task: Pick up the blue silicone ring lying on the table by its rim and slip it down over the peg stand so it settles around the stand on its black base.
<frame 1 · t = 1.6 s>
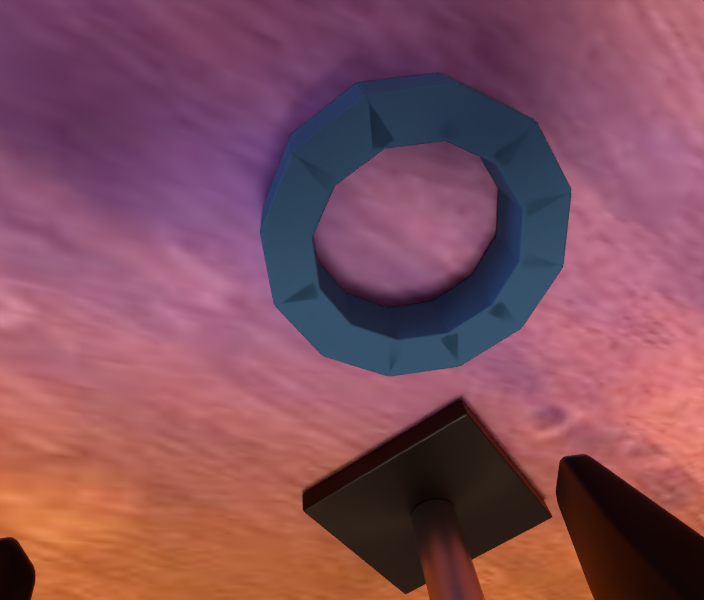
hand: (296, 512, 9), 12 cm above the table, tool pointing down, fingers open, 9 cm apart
blue ring: (405, 223, 20), on the table
peg stand: (428, 497, 27), on the table
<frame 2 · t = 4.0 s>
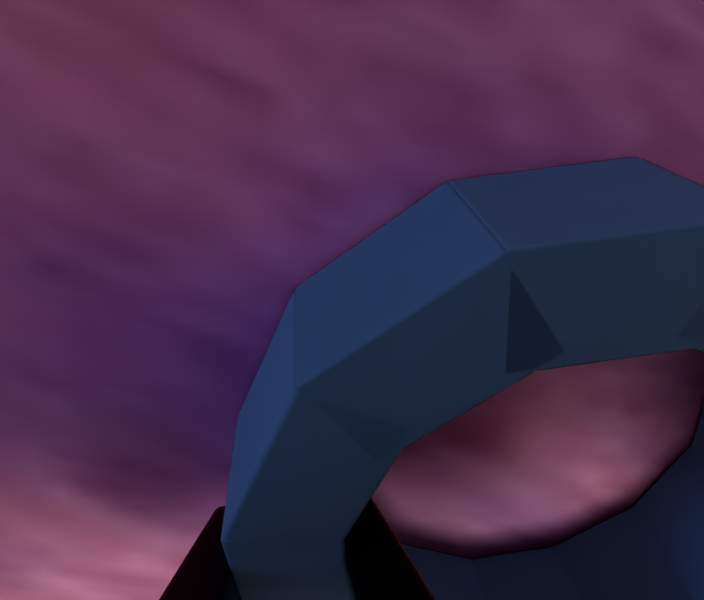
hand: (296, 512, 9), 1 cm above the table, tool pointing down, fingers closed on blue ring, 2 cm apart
blue ring: (521, 434, 10), on the table, touching gripper
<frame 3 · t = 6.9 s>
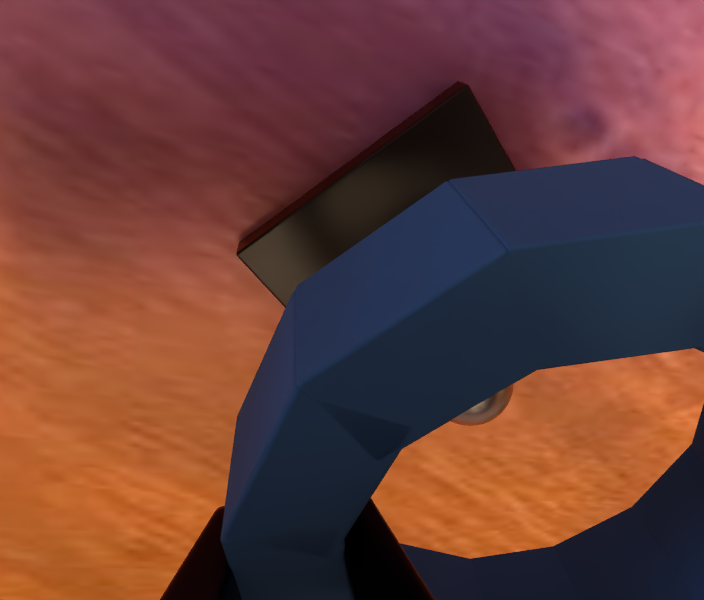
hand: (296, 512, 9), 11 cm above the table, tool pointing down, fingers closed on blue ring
blue ring: (521, 434, 10), point 10 cm above the table, touching gripper
peg stand: (413, 263, 20), on the table
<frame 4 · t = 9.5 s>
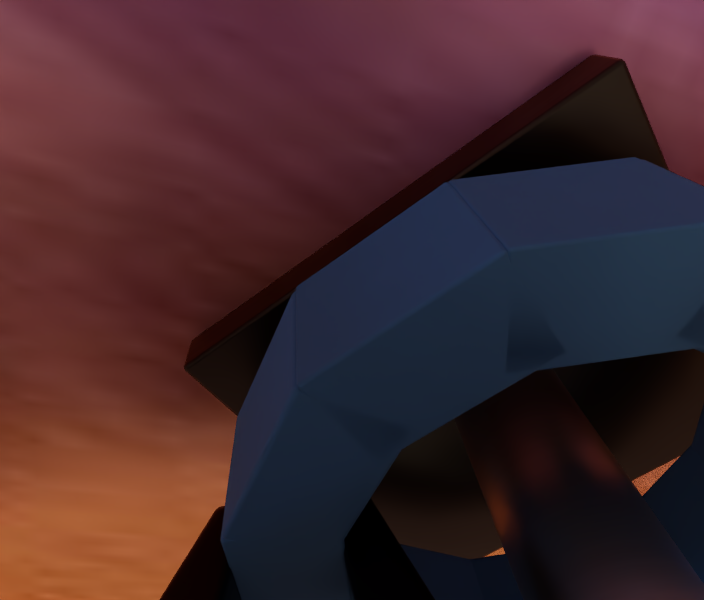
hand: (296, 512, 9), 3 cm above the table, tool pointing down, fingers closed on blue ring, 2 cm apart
blue ring: (521, 434, 10), point 2 cm above the table, touching gripper
peg stand: (486, 364, 12), on the table
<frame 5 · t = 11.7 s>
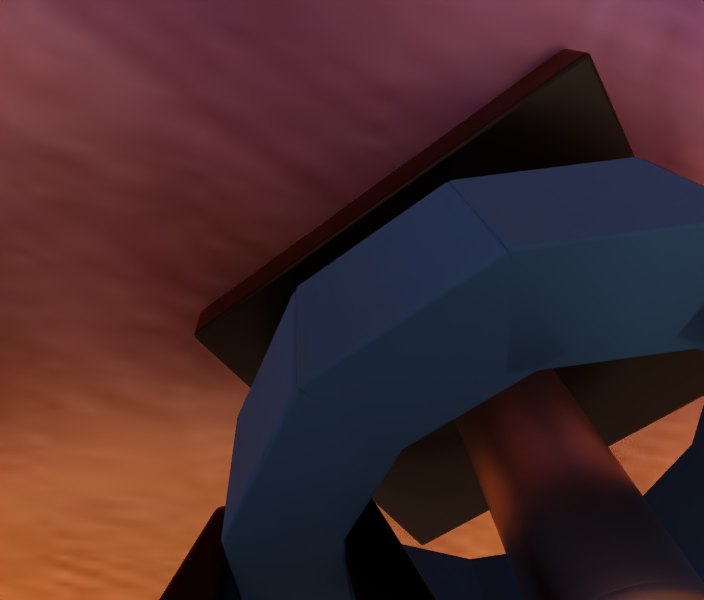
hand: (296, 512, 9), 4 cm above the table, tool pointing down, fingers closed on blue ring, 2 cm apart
blue ring: (521, 434, 10), point 3 cm above the table, touching gripper
peg stand: (472, 336, 13), on the table
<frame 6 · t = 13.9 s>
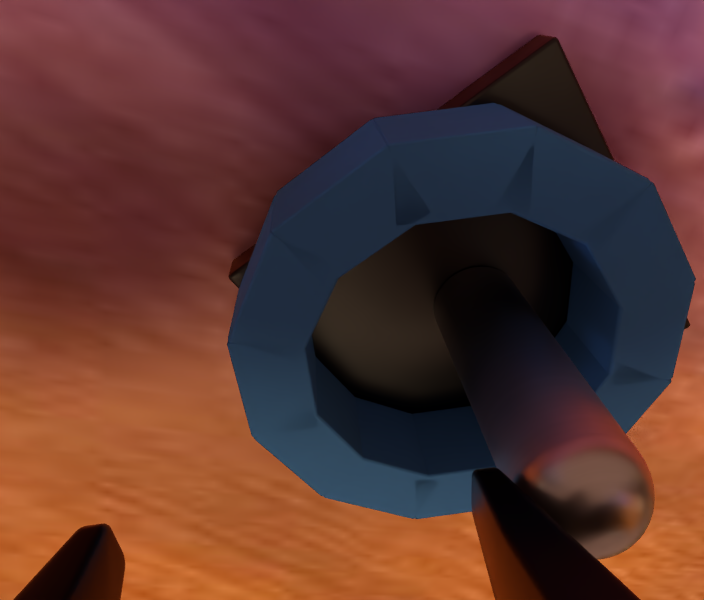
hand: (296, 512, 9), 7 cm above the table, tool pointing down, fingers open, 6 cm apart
blue ring: (439, 309, 14), point 1 cm above the table, touching peg stand
peg stand: (464, 286, 15), on the table
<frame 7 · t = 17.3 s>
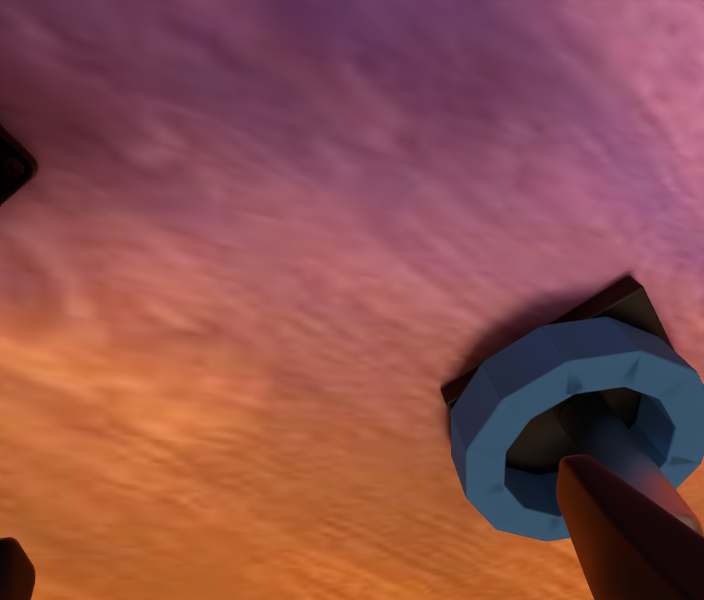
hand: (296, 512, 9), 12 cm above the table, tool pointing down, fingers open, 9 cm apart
blue ring: (562, 416, 24), point 1 cm above the table, touching peg stand
peg stand: (573, 398, 24), on the table
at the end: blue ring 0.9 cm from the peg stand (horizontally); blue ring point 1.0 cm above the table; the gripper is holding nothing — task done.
